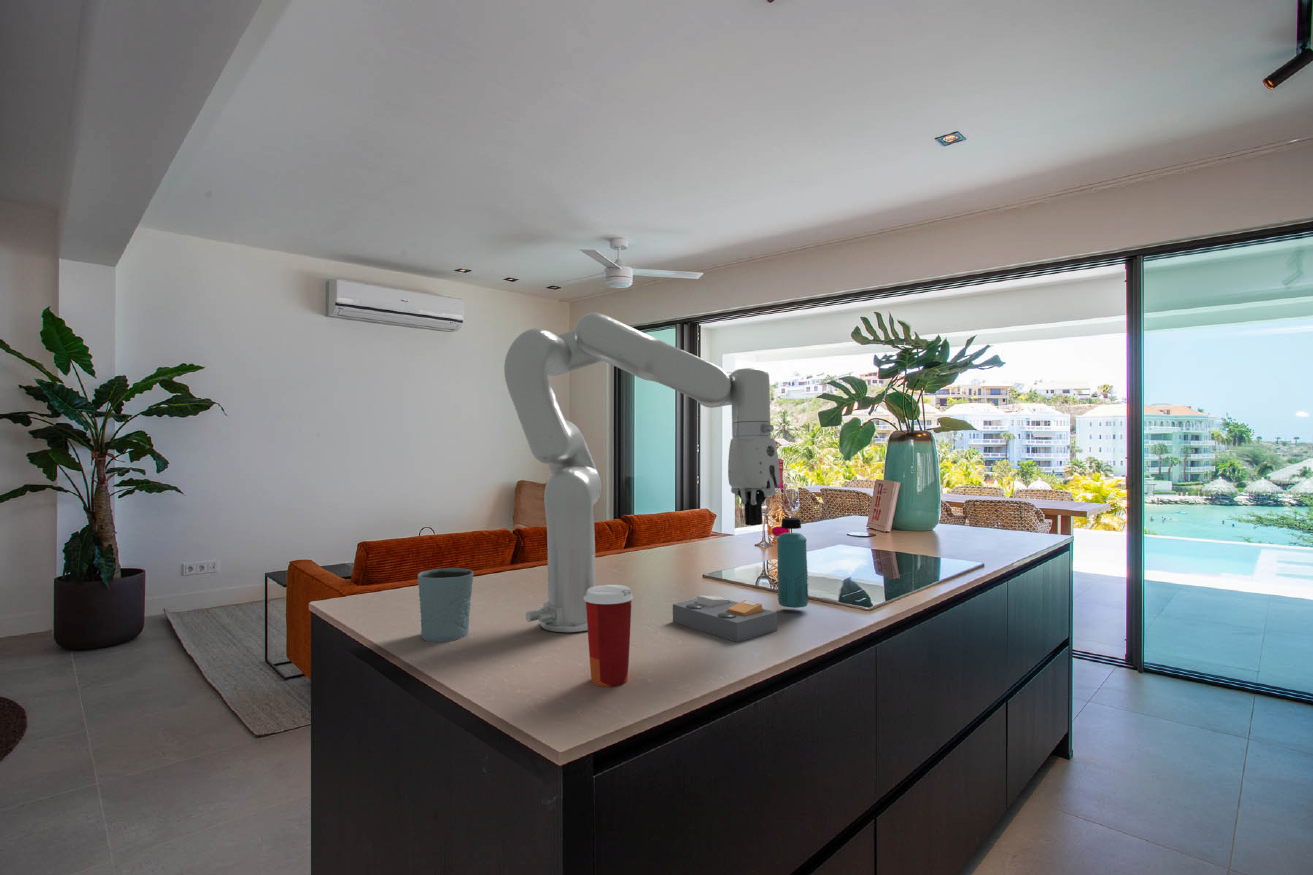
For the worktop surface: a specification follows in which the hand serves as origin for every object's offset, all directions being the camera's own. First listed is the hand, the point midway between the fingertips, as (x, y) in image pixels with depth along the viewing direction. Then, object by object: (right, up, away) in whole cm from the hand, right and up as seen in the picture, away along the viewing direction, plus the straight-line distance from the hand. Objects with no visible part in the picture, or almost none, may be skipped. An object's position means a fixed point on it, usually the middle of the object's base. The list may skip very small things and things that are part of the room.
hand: (753, 524), depth 127 cm
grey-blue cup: (-59, -21, -3) cm, 63 cm away
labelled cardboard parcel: (-2, -17, -2) cm, 17 cm away
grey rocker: (-8, -17, +5) cm, 19 cm away
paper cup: (-26, -21, -28) cm, 43 cm away
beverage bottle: (+10, -20, +11) cm, 25 cm away
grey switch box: (-6, -20, +1) cm, 21 cm away
